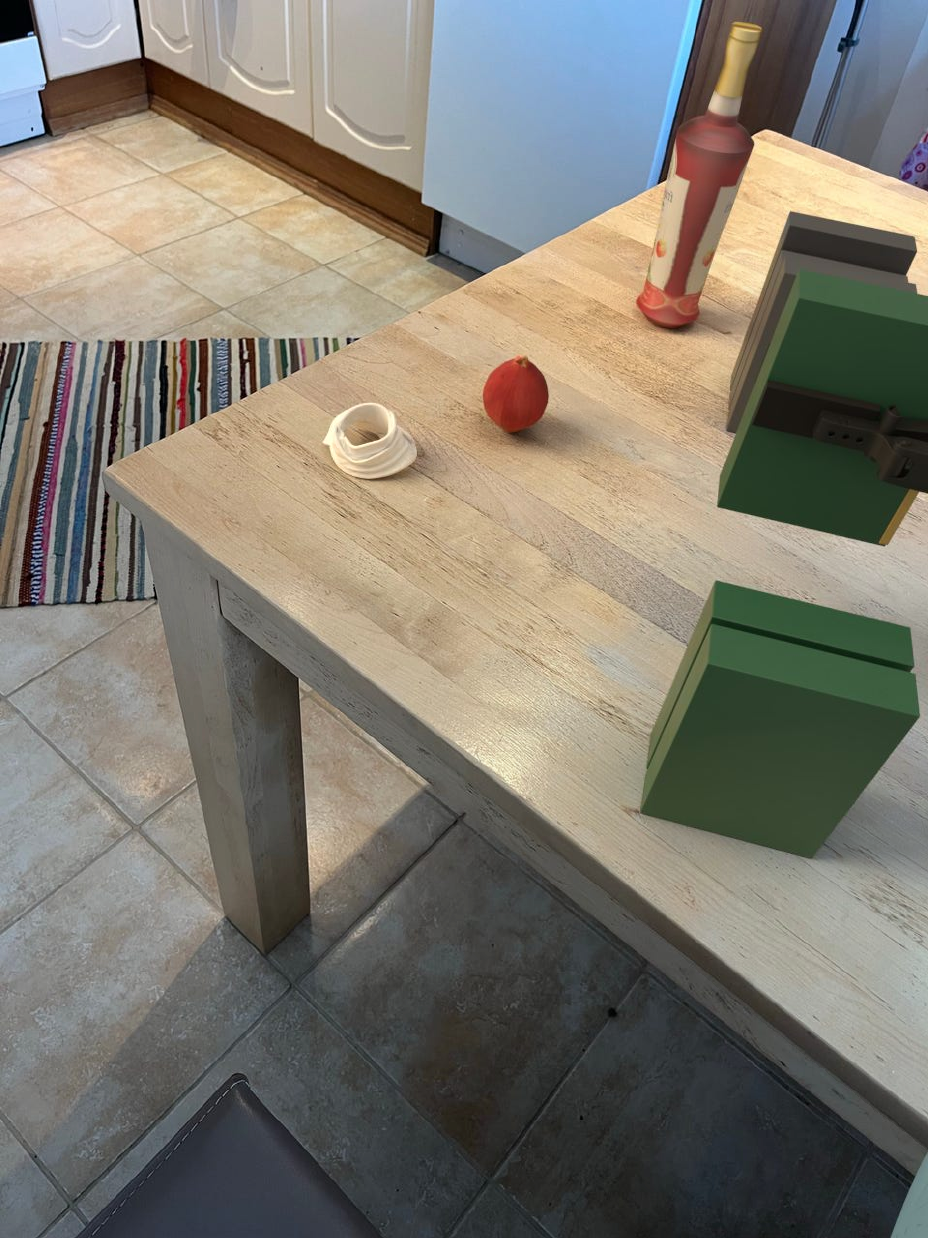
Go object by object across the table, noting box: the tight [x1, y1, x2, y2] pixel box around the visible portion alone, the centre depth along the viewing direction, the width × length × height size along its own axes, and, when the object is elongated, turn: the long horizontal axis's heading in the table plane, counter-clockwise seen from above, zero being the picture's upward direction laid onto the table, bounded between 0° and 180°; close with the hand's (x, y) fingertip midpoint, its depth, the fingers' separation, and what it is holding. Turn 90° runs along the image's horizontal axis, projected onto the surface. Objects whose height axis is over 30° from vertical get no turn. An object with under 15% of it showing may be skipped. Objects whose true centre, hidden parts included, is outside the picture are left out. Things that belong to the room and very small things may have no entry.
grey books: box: [725, 210, 919, 434], centre depth 86 cm, size 10×11×17 cm
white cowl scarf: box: [322, 402, 418, 480], centre depth 80 cm, size 8×7×5 cm
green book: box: [716, 269, 928, 547], centre depth 57 cm, size 4×11×15 cm, turn 76°
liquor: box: [636, 21, 763, 329], centre depth 93 cm, size 7×7×28 cm
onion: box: [482, 353, 550, 434], centre depth 84 cm, size 6×6×8 cm
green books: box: [639, 580, 921, 859], centre depth 57 cm, size 6×11×15 cm, turn 76°
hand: (761, 383), depth 57 cm, fingers closed on green book, 3 cm apart
